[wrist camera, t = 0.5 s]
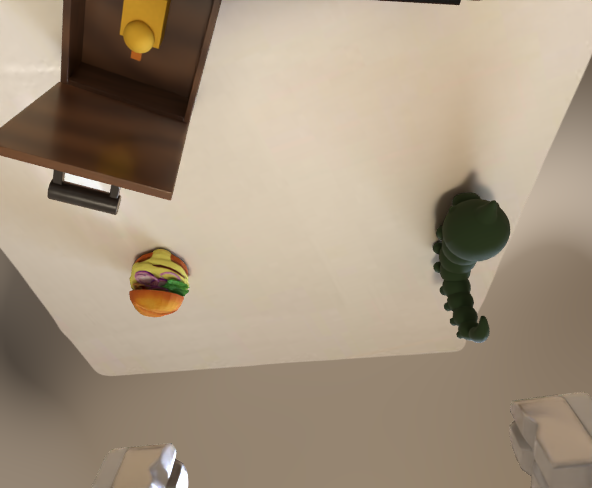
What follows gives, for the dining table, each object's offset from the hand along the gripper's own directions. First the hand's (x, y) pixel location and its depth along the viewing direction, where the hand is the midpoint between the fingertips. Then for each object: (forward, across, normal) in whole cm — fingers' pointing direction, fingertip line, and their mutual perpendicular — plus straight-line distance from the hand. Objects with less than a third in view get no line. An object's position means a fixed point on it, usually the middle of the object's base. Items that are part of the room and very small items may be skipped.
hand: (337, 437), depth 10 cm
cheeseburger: (+57, +32, +25) cm, 70 cm away
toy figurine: (+59, -20, +27) cm, 68 cm away
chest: (+46, +16, -13) cm, 50 cm away
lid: (+33, +19, -3) cm, 39 cm away
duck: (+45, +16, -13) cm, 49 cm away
